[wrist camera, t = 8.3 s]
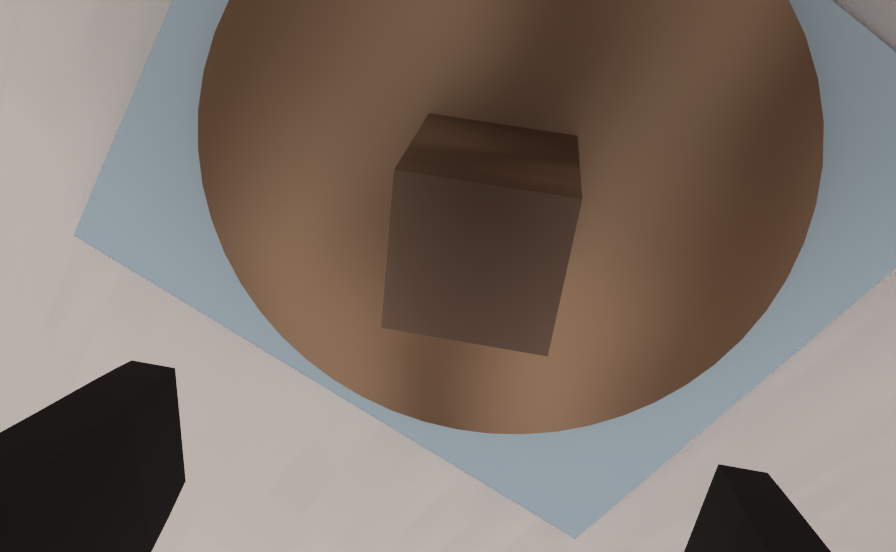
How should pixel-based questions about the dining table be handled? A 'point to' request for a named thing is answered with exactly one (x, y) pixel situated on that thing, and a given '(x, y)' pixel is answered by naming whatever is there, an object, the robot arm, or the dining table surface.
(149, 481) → the robot arm
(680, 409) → the mat
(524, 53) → the lid
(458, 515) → the dining table surface
